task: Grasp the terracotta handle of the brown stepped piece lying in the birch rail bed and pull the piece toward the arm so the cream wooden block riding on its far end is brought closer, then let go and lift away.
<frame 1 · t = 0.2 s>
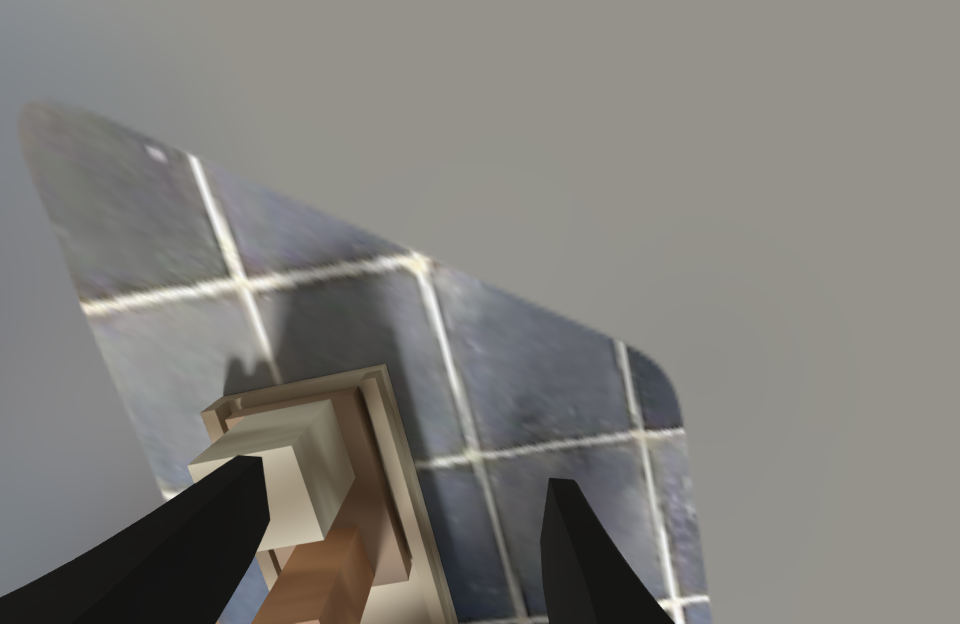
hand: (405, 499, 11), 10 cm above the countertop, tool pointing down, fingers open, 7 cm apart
cube: (301, 447, 21), point 2 cm above the countertop, touching brown stepped piece
rail bed: (351, 528, 24), on the countertop
brown stepped piece: (303, 533, 19), point 4 cm above the countertop, slide at 0.0 cm, touching cube
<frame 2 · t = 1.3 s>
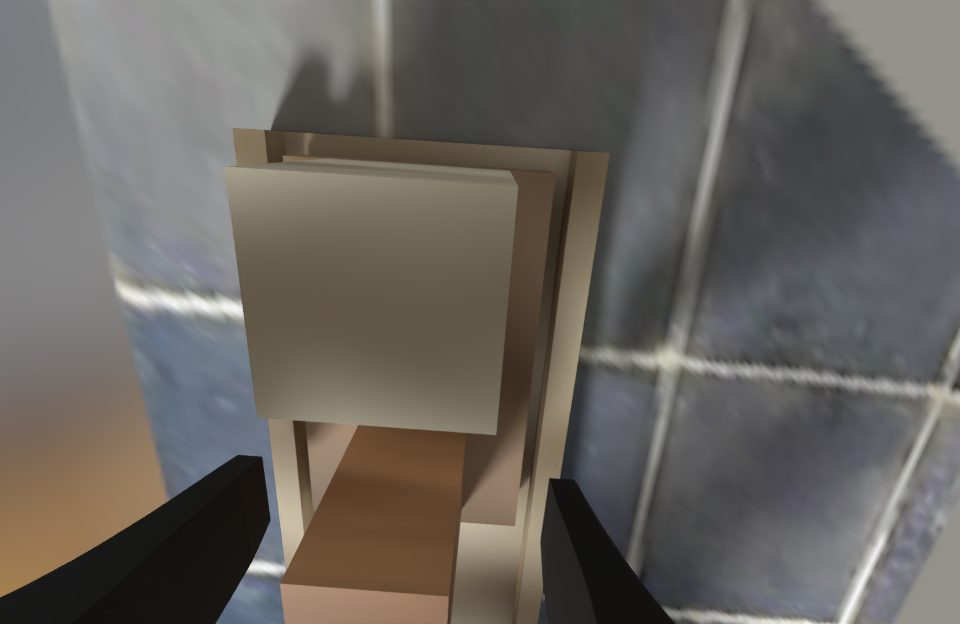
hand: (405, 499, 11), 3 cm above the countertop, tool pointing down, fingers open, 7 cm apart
cube: (417, 254, 11), point 2 cm above the countertop, touching brown stepped piece
rail bed: (425, 422, 15), on the countertop
brown stepped piece: (400, 411, 10), point 4 cm above the countertop, slide at 0.0 cm, touching cube
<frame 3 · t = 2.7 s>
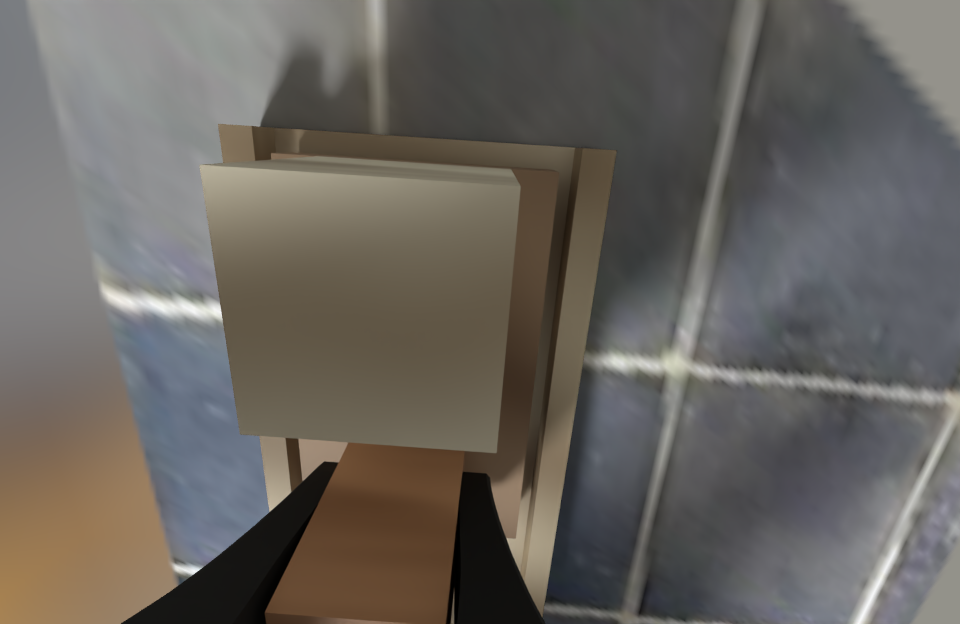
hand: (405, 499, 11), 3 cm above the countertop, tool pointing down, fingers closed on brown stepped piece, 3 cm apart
cube: (413, 256, 10), point 2 cm above the countertop, touching brown stepped piece
rail bed: (422, 430, 14), on the countertop
brown stepped piece: (395, 423, 9), point 4 cm above the countertop, slide at 0.0 cm, touching cube, gripper
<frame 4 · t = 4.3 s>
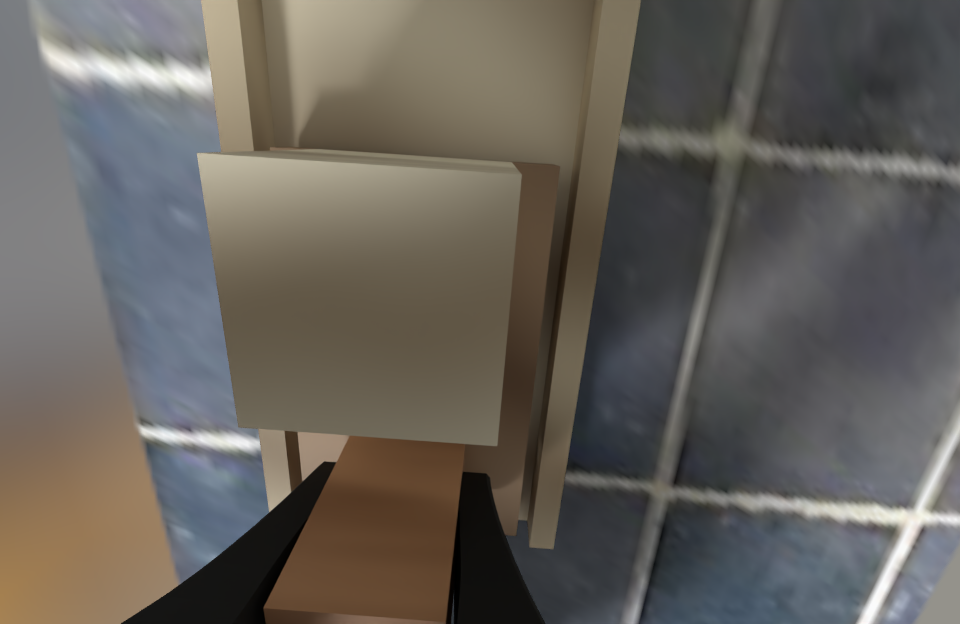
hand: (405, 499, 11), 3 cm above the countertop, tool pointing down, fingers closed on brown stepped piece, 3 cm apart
cube: (413, 250, 10), point 2 cm above the countertop
rail bed: (426, 239, 12), on the countertop
brown stepped piece: (395, 418, 9), point 4 cm above the countertop, slide at 5.9 cm, touching gripper
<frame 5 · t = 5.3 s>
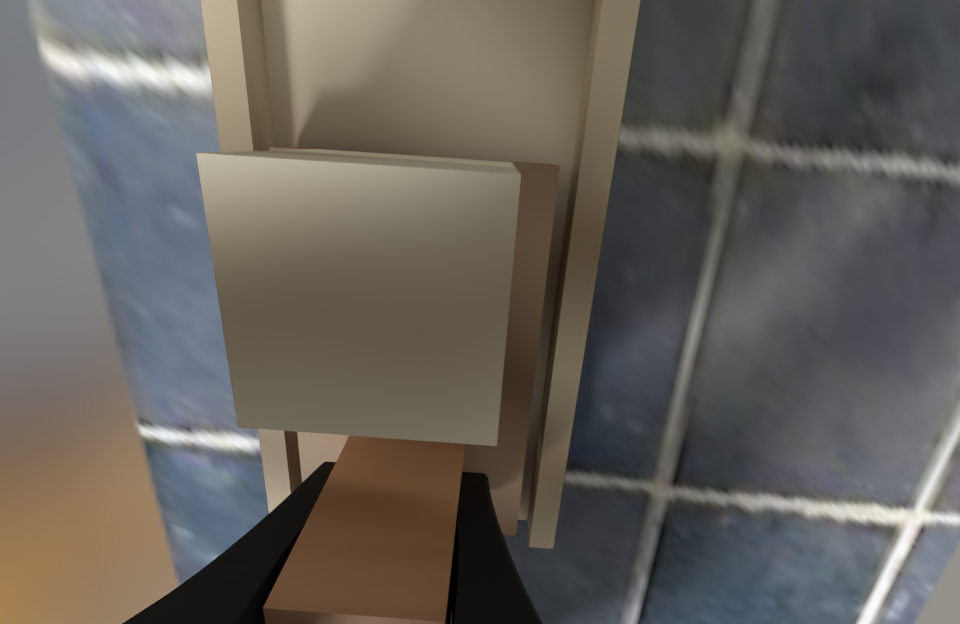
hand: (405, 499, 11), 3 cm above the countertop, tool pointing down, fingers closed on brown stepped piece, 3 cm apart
cube: (413, 250, 10), point 2 cm above the countertop, touching brown stepped piece
rail bed: (426, 238, 12), on the countertop
brown stepped piece: (394, 418, 9), point 4 cm above the countertop, slide at 5.9 cm, touching cube, gripper
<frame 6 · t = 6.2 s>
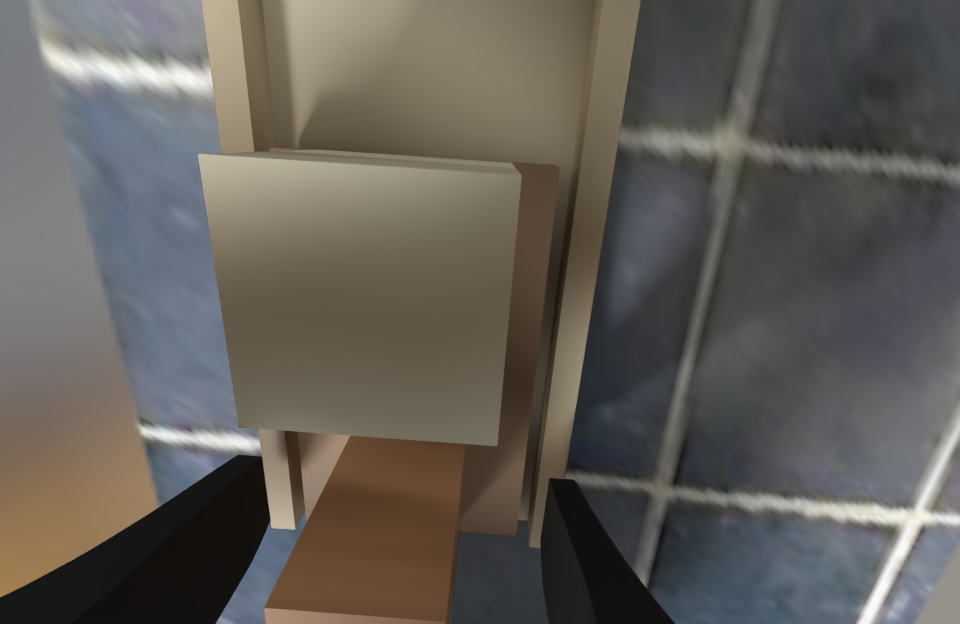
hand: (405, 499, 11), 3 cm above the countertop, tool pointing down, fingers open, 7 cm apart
cube: (413, 251, 10), point 2 cm above the countertop
rail bed: (426, 239, 12), on the countertop
brown stepped piece: (395, 419, 9), point 4 cm above the countertop, slide at 5.9 cm
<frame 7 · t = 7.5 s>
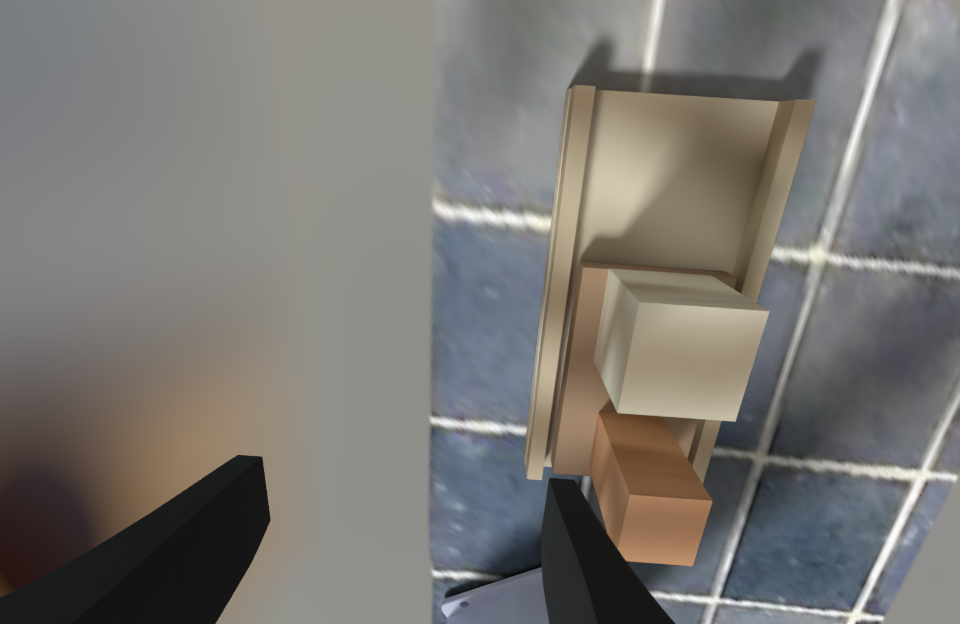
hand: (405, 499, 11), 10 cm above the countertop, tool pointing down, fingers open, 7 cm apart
cube: (650, 319, 18), point 2 cm above the countertop, touching brown stepped piece
rail bed: (635, 305, 20), on the countertop
brown stepped piece: (651, 410, 17), point 4 cm above the countertop, slide at 5.9 cm, touching cube
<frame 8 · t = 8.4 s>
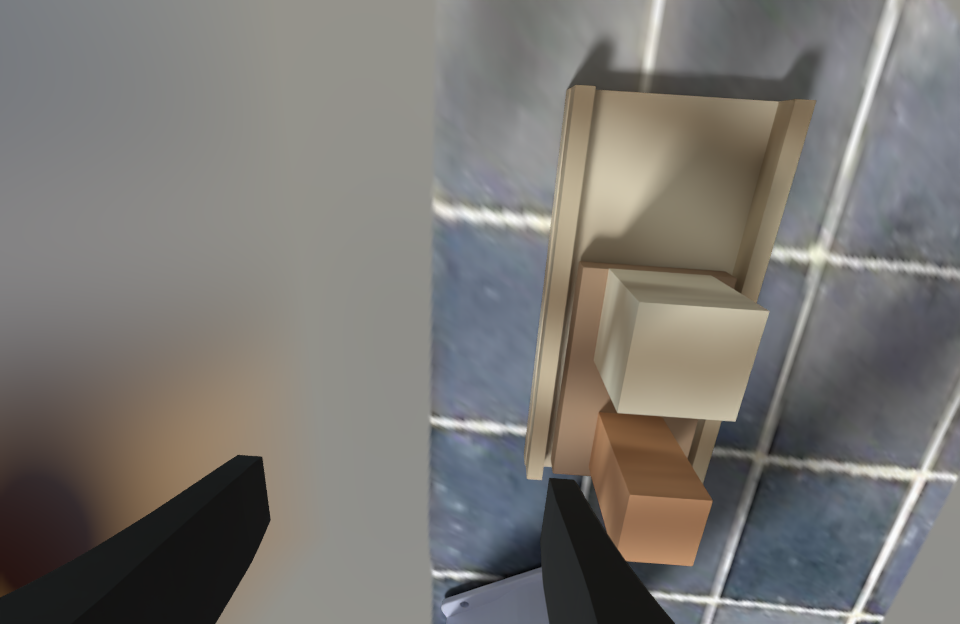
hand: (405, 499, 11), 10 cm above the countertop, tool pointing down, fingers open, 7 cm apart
cube: (650, 319, 18), point 2 cm above the countertop, touching brown stepped piece
rail bed: (635, 305, 20), on the countertop
brown stepped piece: (651, 410, 17), point 4 cm above the countertop, slide at 5.9 cm, touching cube
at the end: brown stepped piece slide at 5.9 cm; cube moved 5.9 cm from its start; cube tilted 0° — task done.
